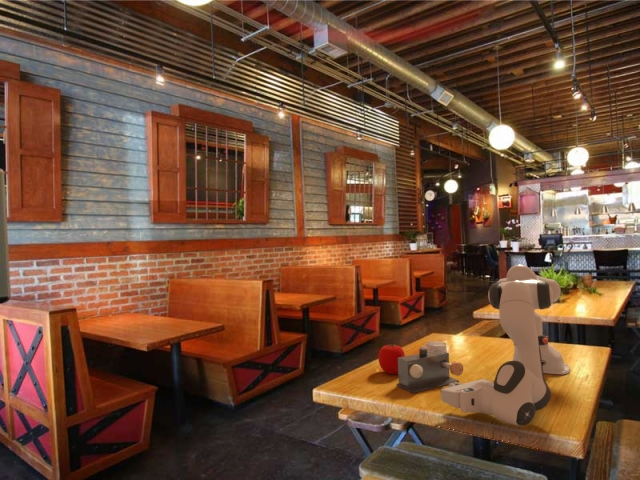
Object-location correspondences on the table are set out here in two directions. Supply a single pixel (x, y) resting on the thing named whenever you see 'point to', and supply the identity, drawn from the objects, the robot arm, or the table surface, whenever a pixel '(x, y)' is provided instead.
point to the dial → (423, 351)
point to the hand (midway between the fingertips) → (452, 384)
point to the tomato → (390, 358)
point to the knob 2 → (453, 367)
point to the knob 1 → (416, 371)
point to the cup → (436, 346)
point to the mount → (424, 371)
